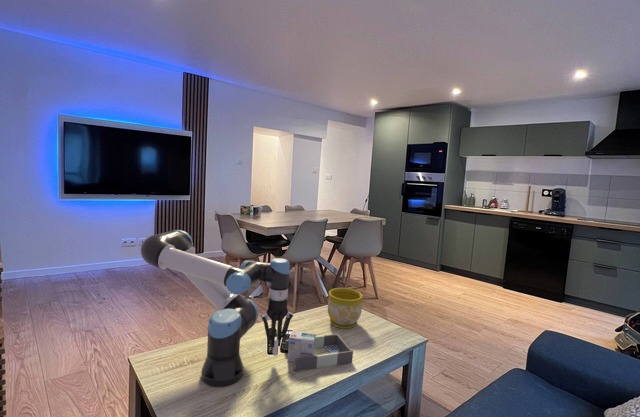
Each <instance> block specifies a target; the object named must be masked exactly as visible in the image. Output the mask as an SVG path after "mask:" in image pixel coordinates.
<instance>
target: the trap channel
mask: <svg viewBox="0 0 640 417" xmlns="http://www.w3.org/2000/svg"><path fill="white" fill-rule="evenodd" d="M288 345H289V339H286V340H285V342H284V351H285V350H286V349H288ZM331 345H333V346H336V348H337V349H338V348H339V349H338V350H339V351H340V352H331V353H326V354H317V355H314V356H310V357H303V358H296V359H295V362H294V372H301V371H308V370H315V369H321V368H327V367H332V366H338V365H339V366H340V365H345V364H353V356H354V351H353V349H351V347H350V346H349V345H348V344H347V342H346V341H345V340H344V339H343V338H342V336H341V335H339V333H334V334H325V335H323V334H322V335H316V338H315V349H317V348H324V347H325V346H326V347H332V346H331Z"/></svg>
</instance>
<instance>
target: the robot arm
mask: <svg viewBox="0 0 640 417" xmlns="http://www.w3.org/2000/svg"><path fill="white" fill-rule="evenodd" d="M140 255H141V257H142V259H143V261H144V262H146V263H147V264H148V265H150V266H152V267H154V268H156V269H157V268H158V269H160V270H166V269H167V268H168V269H170V270H173V271H177V272H180V273H182V274H184V275H185V277H186V278H187V279H188V280H189V281H190V282H191V283H192V285H194V286H195V287H196V288H197V290H198V291H200V292H201V293H202V295H203V296H204V297H205V298H206V299H207V300H208V301H209V302H210V303H211V304H212V305H213V307H214V308H215V309H216V310H217V311H214V312H213V313H212V314H211V315H210V317H209V318H208V324H207V348H206V349H207V350H206V351H207V352H206V357H205V361H204V363H203V366H202V367H201V372H200V373H201V375H200V376H201V380H202V382H203V383H204V384H206V385H208V386H211V387H215V388H217V387H220V388H222V387H229V386H230V385H233V384H236V383H237V382H239V381H240V380H241V379H242V377H243V375H244V374H243V373H244V365H243V364H244V363H243V361H242V358H241V354H240V348H241V347H240V343H241V339H242V338H243V337H244V335H245V334H247V332H248V331H250V329H252V327H253V326H255V323H256V322H257V320H258V318H259V310H258V306H257V304H256V303H255V302H254V301H253V300H252V299H249V298H243V297H242V296H241V294H243V293H245V292H247V291H248V290H249V289H250V288H251V287H252V286H254V285H255V284H257V283H258V282H263V283H269V290H268V297H269V298H268V305H267V307H268V308H267V310H266V312H265V313H264V314H261V315H260V317H261V319H262V321H263V325H264V330H265V336H266V338H267V340H270V343H269V344H270V348H272V351H271V352H272V355H273V357H274V356H275V357H276V356H278V352H279V347H281V341H282V338H286V336H287V332H288V329H289V325H290V323H291V320H292V319H293V317H294V315H293V313H292V312H291V311H289V310H288V297H289V280H290V273H291V271H290V261H289V260H287V259H286V258H281V257H280V258H278V257H275V258H273V259H271V261H270V262H262V261H256V260H244V261H242V262H241V265H240V267H235V266H232V265H229V264H226V263H222V262H219V261H216V260H213V259H209V258H207V257H203V256H199V255H197V254H196V247H195V246H194V243H193V238H192V237H191V235H190V234H189V233H188V232H187V231H184V230H181V229H173V230H167V231H166V232H161V233H157V234H153V235H150V236H149V237H147V238H145V239H144V241H143V243H142V244H141V247H140ZM268 317H269V318H268ZM268 319H270V320H271V324H270V325H271V326H270V327H269V322H268ZM284 319H285V320H284ZM283 320H284V321H283ZM283 322H284V323H283ZM276 326H277V328H276ZM269 328H270V329H269Z"/></svg>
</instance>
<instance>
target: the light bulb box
mask: <svg viewBox="0 0 640 417" xmlns="http://www.w3.org/2000/svg"><path fill="white" fill-rule="evenodd" d="M316 336H317V332H309V331H307V332H306V331H298V330H291V331H290V335H289V337H288V340H289V345H288V352H287V362H289V363H295V359H296V358H303V357H310V356H315V352H316V348H315V338H316Z"/></svg>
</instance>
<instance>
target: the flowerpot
mask: <svg viewBox="0 0 640 417" xmlns="http://www.w3.org/2000/svg"><path fill="white" fill-rule="evenodd" d="M363 297H364V295H363V294H362V293H361V291H358V290H356V289H353V288H348V287H336V288H335V287H334V288H332V289H330V290H329V291H328V302H327V313H328V317H329V321H330V323H331V324H332V325H333V326H334V327H336V328H338V329H343V330H349V329H353V328H354V327H355V326H356V325H357V324H358V321H359V319H360V317H361V315H362V308H363V306H362V302H363Z"/></svg>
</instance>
